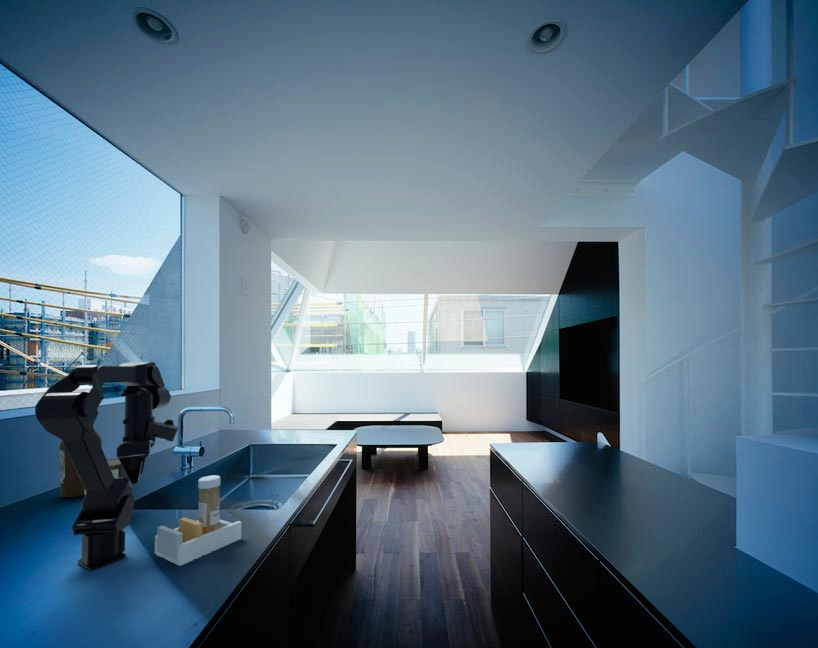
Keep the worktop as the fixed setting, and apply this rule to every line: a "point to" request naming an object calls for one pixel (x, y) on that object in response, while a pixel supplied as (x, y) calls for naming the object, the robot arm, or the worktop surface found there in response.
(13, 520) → the worktop surface
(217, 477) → the sprinkles bottle
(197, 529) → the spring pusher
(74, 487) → the olive oil
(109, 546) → the robot arm
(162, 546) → the tray
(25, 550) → the worktop surface
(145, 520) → the worktop surface
